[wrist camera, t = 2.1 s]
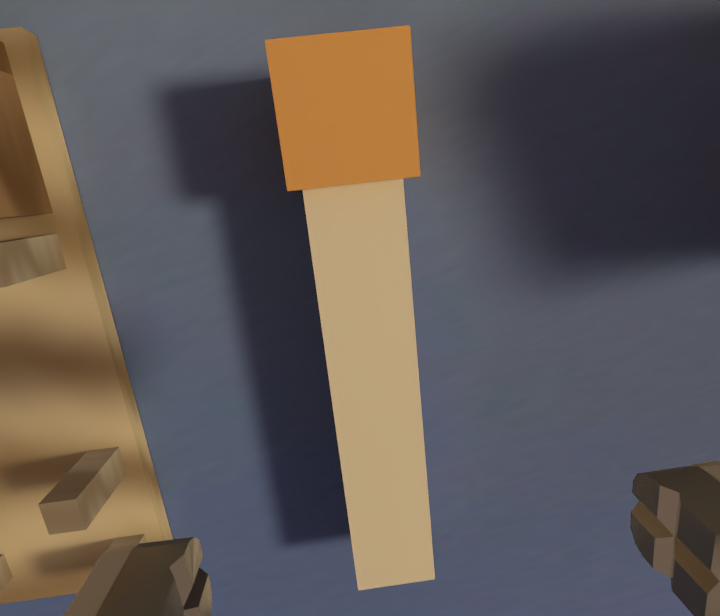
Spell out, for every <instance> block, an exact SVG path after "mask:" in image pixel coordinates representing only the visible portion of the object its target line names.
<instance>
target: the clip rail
mask: <svg viewBox="0 0 720 616" xmlns="http://www.w3.org/2000/svg"><path fill="white" fill-rule="evenodd" d="M165 540H173V538H172V534H171V530H170V527H169V523H168V519H167V516H166V512H165V508H164V504H163V501H162V497H161V493H160V490H159V486H158V482H157V479H156V475H155V471H154V468H153V464H152V460H151V457H150V453H149V449H148V446H147V442H146V438H145V435H144V431H143V427H142V424H141V420H140V416H139V412H138V409H137V405H136V401H135V398H134V394H133V390H132V387H131V383H130V379H129V376H128V372H127V368H126V365H125V361H124V357H123V354H122V350H121V346H120V343H119V339H118V335H117V332H116V328H115V324H114V320H113V317H112V313H111V309H110V306H109V302H108V298H107V295H106V291H105V287H104V284H103V280H102V276H101V273H100V269H99V265H98V262H97V258H96V254H95V251H94V247H93V243H92V240H91V236H90V232H89V228H88V225H87V221H86V217H85V214H84V210H83V206H82V203H81V199H80V195H79V192H78V188H77V184H76V181H75V177H74V173H73V170H72V166H71V162H70V159H69V155H68V151H67V147H66V144H65V140H64V136H63V133H62V129H61V125H60V122H59V118H58V114H57V111H56V107H55V103H54V100H53V96H52V92H51V89H50V85H49V81H48V78H47V74H46V70H45V67H44V63H43V59H42V55H41V52H40V48H39V44H38V41H37V37H36V35H34V34H32V33H31V32H29V31H27V30H25V29H23V28H21V27H14V28H4V29H0V604H5V603H11V602H18V601H25V600H32V599H39V598H46V597H53V596H60V595H67V594H74V593H78V592H79V590H80V589H81V587H82V586H83V584H84V582H85V581H86V579H87V578H88V576H89V574H90V573H91V571H92V570H93V568H94V566H95V565H96V563H97V561H98V560H99V558H100V557H101V555H102V554H103V553H104V552H105V551H107V550H108V549H109V548H111V547H119V546H127V545H138V544H139V543H148V542H156V541H165Z"/></svg>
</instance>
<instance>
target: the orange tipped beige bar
mask: <svg viewBox="0 0 720 616" xmlns="http://www.w3.org/2000/svg"><path fill="white" fill-rule="evenodd" d="M265 45H266V52H267V59H268V65H269V72H270V79H271V86H272V92H273V99H274V106H275V112H276V119H277V126H278V133H279V139H280V146H281V153H282V160H283V166H284V173H285V180H286V186H287V191H301V190H302V191H303V198H304V205H305V213H306V220H307V227H308V234H309V241H310V248H311V256H312V263H313V270H314V277H315V284H316V291H317V298H318V306H319V313H320V320H321V327H322V334H323V341H324V349H325V356H326V363H327V370H328V377H329V384H330V392H331V399H332V406H333V413H334V420H335V427H336V435H337V442H338V449H339V456H340V463H341V470H342V478H343V485H344V492H345V499H346V506H347V513H348V521H349V528H350V535H351V542H352V549H353V556H354V563H355V571H356V578H357V585H358V590H364V589H371V588H378V587H385V586H392V585H399V584H405V583H412V582H419V581H426V580H433V579H435V573H434V561H433V548H432V535H431V523H430V510H429V498H428V485H427V473H426V460H425V448H424V435H423V423H422V410H421V398H420V385H419V373H418V360H417V348H416V335H415V323H414V310H413V298H412V285H411V272H410V260H409V247H408V235H407V222H406V210H405V197H404V185H403V179H405V178H411V177H418V176H420V162H419V148H418V133H417V119H416V105H415V90H414V76H413V62H412V47H411V33H410V25H408V26H398V27H388V28H378V29H368V30H358V31H348V32H338V33H328V34H318V35H309V36H299V37H289V38H279V39H269V40H265Z"/></svg>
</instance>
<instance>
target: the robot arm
mask: <svg viewBox="0 0 720 616" xmlns="http://www.w3.org/2000/svg"><path fill="white" fill-rule="evenodd" d="M632 493H633V494H634V495H635V496H636V498H637V499H638V500H639V502H638V503H637V505H636V506H635V507H634V509H633V510H632V511H631V523H630V528H631V531H632V534H633V538H634V541H635V544H636V545H637V547H638V549H639V551H640V552H641V554H642V556H643V557H644V558H645V559H646V561H647V562H648V563H649V564H650V565H651V567H652V568H654V569H656V570H657V571H659V572H661V573H663V574H665V575H667V576H669V577H670V578H671V588H672V591H673V592H674V593H675V595H676V596H677V597H678V598H679V599H680V600H681V601H682V603H683V604H684V605H685V606H686V607H687V608H688V610H689V611H690V612H691V613H692V614H693V615H694V616H720V462H719V461H711V462H705V463H699V464H693V465H690V466H684V467H678V468H671V469H664V470H658V471H651V472H644V473H638V474H637V475H636V477H635V478H634V480H633V488H632ZM202 557H203V552H202V549H201V545H200V542H199V539H197V538H195V537H190V538H182V539H173V540H165V541H156V542H148V543H139V544H138V545H127V546H119V547H111V548H109V549H108V550H107V551H105V552H104V553H103V554H102V555H101V557H100V558H99V560H98V561H97V563H96V565H95V566H94V568H93V570H92V571H91V573H90V574H89V576H88V578H87V579H86V581H85V582H84V584H83V586H82V587H81V589H80V590H79V592H78V594H77V595H76V597H75V598H74V600H73V602H72V603H71V605H70V606H69V608H68V610H67V611H66V613H65V614H64V616H211V606H212V593H211V584H210V580H209V576H208V574H207V573H206V572H204V571H203V570H202V569H201V568H199V566H200V563H201V560H202Z"/></svg>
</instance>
